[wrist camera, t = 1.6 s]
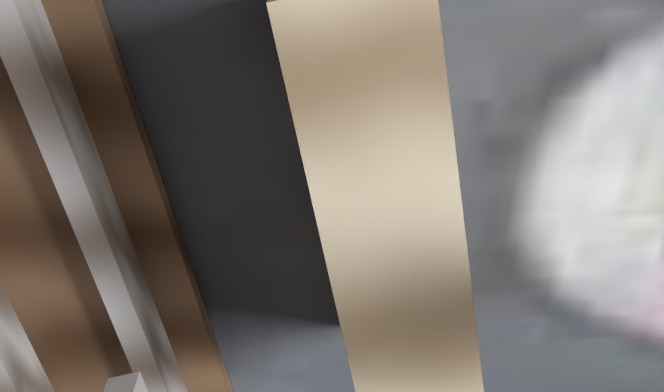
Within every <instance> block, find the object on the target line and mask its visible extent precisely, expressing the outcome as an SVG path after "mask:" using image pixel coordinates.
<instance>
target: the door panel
mask: <svg viewBox="0 0 664 392" xmlns="http://www.w3.org/2000/svg"><path fill="white" fill-rule="evenodd" d="M266 5H267V9H268V13H269V18H270V22H271V26H272V31H273V35H274V39H275V44H276V48H277V52H278V57H279V61H280V66H281V70H282V74H283V79H284V83H285V87H286V92H287V96H288V100H289V105H290V109H291V113H292V118H293V122H294V126H295V131H296V135H297V139H298V144H299V148H300V153H301V157H302V161H303V166H304V170H305V174H306V179H307V183H308V187H309V192H310V196H311V200H312V205H313V209H314V213H315V218H316V222H317V226H318V231H319V235H320V239H321V244H322V248H323V253H324V257H325V261H326V266H327V270H328V274H329V279H330V283H331V287H332V292H333V296H334V300H335V305H336V309H337V313H338V318H339V322H340V326H341V331H342V335H343V340H344V344H345V348H346V353H347V357H348V361H349V366H350V370H351V374H352V379H353V383H354V387H355V392H484V388H483V379H482V371H481V362H480V354H479V345H478V337H477V328H476V320H475V311H474V303H473V294H472V286H471V277H470V268H469V260H468V251H467V243H466V234H465V226H464V217H463V209H462V200H461V192H460V183H459V175H458V166H457V158H456V149H455V141H454V132H453V124H452V115H451V106H450V98H449V89H448V81H447V72H446V64H445V55H444V47H443V38H442V30H441V21H440V13H439V4H438V0H267V2H266Z"/></svg>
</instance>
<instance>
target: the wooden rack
mask: <svg viewBox="0 0 664 392" xmlns="http://www.w3.org/2000/svg"><path fill="white" fill-rule="evenodd" d="M139 371H140V373H141V376H142V378H143V380H144V383H145V385H146V388H147V390H148V392H233V389H232V386H231V383H230V380H229V377H228V374H227V371H226V368H225V365H224V362H223V359H222V356H221V353H220V351H219V348H218V345H217V342H216V339H215V336H214V333H213V330H212V327H211V324H210V321H209V318H208V315H207V312H206V309H205V306H204V303H203V300H202V297H201V294H200V291H199V288H198V285H197V282H196V279H195V276H194V273H193V270H192V267H191V264H190V261H189V259H188V256H187V253H186V250H185V247H184V244H183V241H182V238H181V235H180V232H179V229H178V226H177V223H176V220H175V217H174V214H173V211H172V208H171V205H170V202H169V199H168V196H167V193H166V190H165V187H164V184H163V181H162V178H161V175H160V172H159V169H158V167H157V164H156V161H155V158H154V155H153V152H152V149H151V146H150V143H149V140H148V137H147V134H146V131H145V128H144V125H143V122H142V119H141V116H140V113H139V110H138V107H137V104H136V101H135V98H134V95H133V92H132V89H131V86H130V83H129V80H128V77H127V74H126V72H125V69H124V66H123V63H122V60H121V57H120V54H119V51H118V48H117V45H116V42H115V39H114V36H113V33H112V30H111V27H110V24H109V21H108V18H107V15H106V12H105V9H104V6H103V3H102V0H0V392H103V391H104V388H105V386H106V383H107V381H108V378H112V377H117V376H121V375H126V374H130V373H135V372H139Z"/></svg>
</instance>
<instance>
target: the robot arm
mask: <svg viewBox="0 0 664 392" xmlns="http://www.w3.org/2000/svg"><path fill="white" fill-rule="evenodd" d="M103 392H148V390H147V388H146V385H145V383H144V380H143V378H142V376H141V373H140V371H139V372H135V373H130V374H126V375H121V376H117V377H112V378H108V381H107V383H106V386H105V388H104V391H103Z"/></svg>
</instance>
